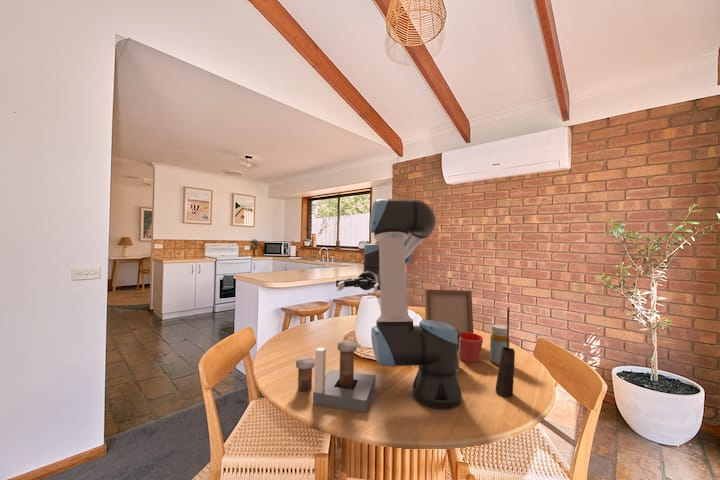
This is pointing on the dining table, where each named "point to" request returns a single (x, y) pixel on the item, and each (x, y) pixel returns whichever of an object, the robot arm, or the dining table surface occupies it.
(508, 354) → the walkie talkie
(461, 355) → the flower pot
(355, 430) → the dining table surface
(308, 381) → the short pin
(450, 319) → the photo frame
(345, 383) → the long pin
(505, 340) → the bottle
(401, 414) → the dining table surface
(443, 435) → the dining table surface
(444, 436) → the dining table surface
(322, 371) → the hole block
